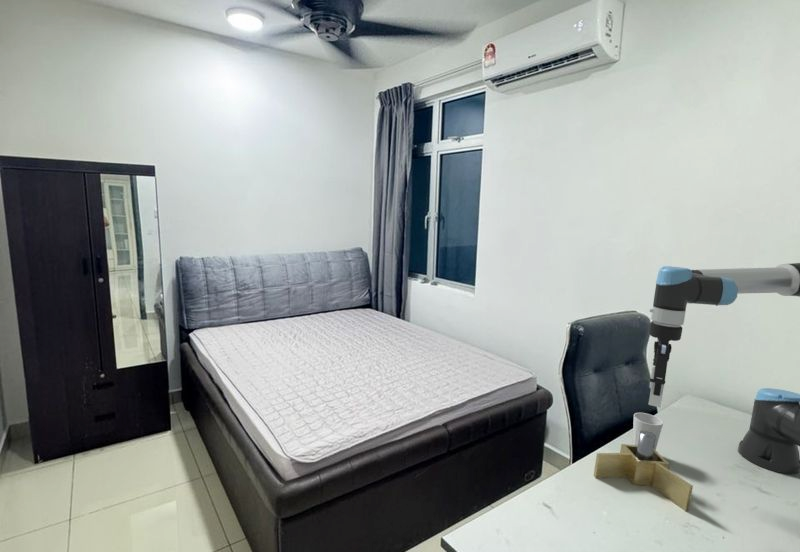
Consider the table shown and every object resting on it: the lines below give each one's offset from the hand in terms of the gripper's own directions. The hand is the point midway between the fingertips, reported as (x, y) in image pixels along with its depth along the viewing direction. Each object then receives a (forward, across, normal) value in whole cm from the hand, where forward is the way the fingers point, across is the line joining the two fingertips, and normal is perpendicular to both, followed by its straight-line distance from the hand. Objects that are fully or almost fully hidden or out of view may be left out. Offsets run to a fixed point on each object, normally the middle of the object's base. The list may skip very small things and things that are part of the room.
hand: (654, 396), depth 117 cm
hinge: (+24, +7, -2) cm, 25 cm away
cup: (+24, -14, 0) cm, 28 cm away
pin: (+24, 0, 0) cm, 24 cm away
